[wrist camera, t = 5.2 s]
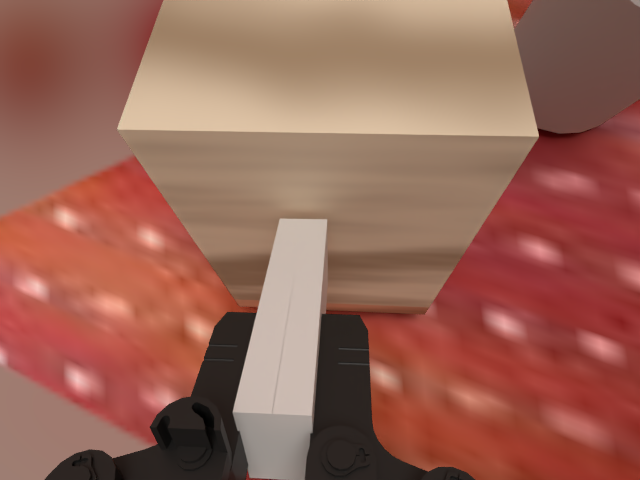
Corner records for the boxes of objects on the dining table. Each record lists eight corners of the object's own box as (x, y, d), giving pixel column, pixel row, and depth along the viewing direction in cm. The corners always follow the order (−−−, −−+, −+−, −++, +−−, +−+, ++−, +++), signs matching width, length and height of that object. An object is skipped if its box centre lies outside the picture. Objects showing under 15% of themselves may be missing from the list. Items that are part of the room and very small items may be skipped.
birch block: (424, 314, 22) (539, 136, 9) (239, 306, 23) (117, 129, 10) (419, 231, 24) (506, -1, 12) (251, 226, 25) (163, 0, 12)
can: (599, 12, 25) (825, -238, 13) (635, 125, 24) (915, -37, 12) (478, 37, 26) (596, -188, 14) (508, 150, 24) (665, 14, 13)
